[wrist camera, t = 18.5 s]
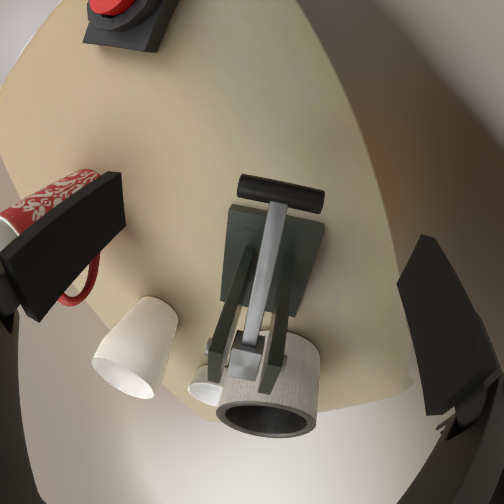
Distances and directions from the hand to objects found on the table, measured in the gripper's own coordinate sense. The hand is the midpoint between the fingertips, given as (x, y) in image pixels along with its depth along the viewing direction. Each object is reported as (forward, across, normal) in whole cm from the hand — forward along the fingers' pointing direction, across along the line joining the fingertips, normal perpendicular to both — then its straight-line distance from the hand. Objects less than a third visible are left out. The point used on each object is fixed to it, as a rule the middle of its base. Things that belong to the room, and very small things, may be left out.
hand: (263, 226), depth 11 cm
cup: (+14, -14, -25) cm, 32 cm away
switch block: (+14, -16, +14) cm, 25 cm away
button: (+11, -16, +14) cm, 23 cm away
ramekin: (+14, -4, -38) cm, 41 cm away
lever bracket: (+14, 0, -12) cm, 19 cm away
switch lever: (+5, 0, -7) cm, 9 cm away
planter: (+14, +4, -28) cm, 32 cm away
